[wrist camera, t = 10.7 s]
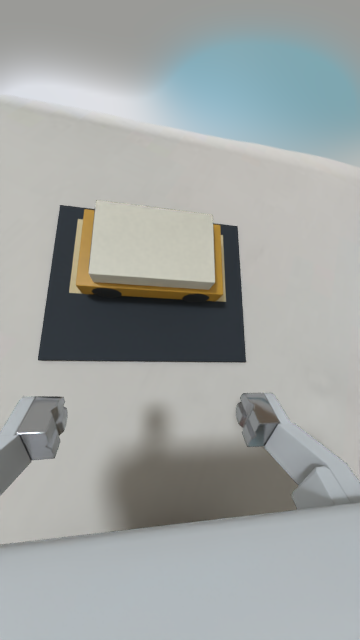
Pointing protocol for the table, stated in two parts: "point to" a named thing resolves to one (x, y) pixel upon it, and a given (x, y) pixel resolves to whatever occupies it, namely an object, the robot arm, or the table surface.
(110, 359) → the play mat
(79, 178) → the table surface
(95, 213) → the toy car
